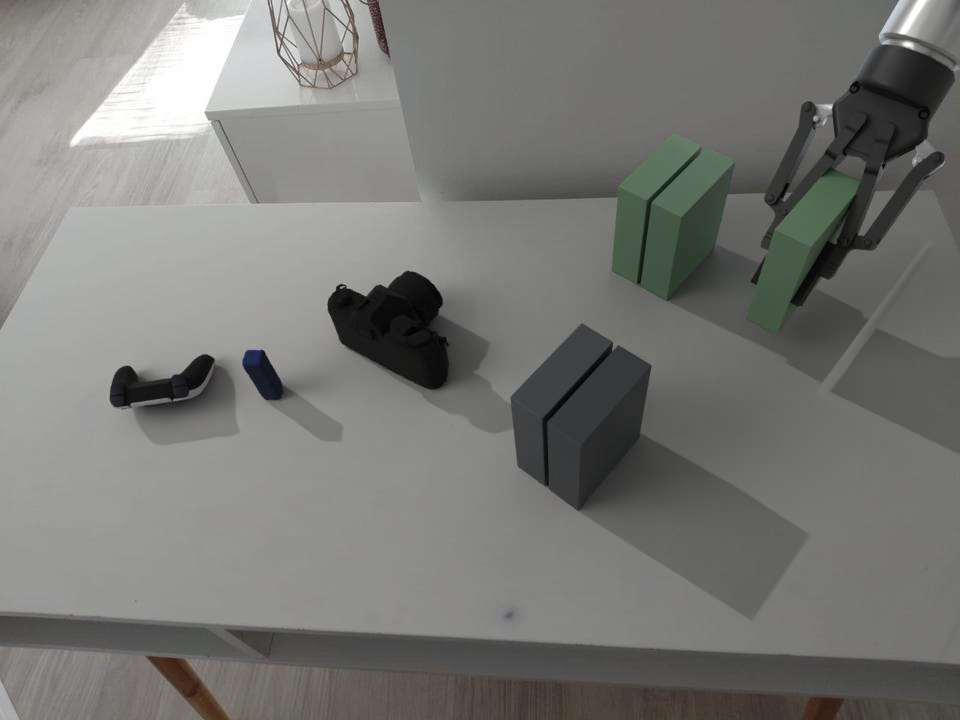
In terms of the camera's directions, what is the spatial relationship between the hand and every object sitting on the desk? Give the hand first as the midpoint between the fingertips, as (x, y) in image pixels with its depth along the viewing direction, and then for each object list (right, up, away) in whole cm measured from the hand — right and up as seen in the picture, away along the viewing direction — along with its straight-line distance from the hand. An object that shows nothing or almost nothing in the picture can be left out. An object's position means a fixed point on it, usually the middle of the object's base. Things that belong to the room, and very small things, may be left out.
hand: (776, 293), depth 74 cm
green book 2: (-6, +4, +13) cm, 15 cm away
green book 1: (-9, +6, +15) cm, 19 cm away
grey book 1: (-21, -15, +2) cm, 25 cm away
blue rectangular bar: (-52, -10, +8) cm, 53 cm away
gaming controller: (-63, -10, +10) cm, 65 cm away
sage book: (+3, 0, +5) cm, 6 cm away
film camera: (-37, -4, +11) cm, 39 cm away
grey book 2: (-18, -17, 0) cm, 24 cm away
